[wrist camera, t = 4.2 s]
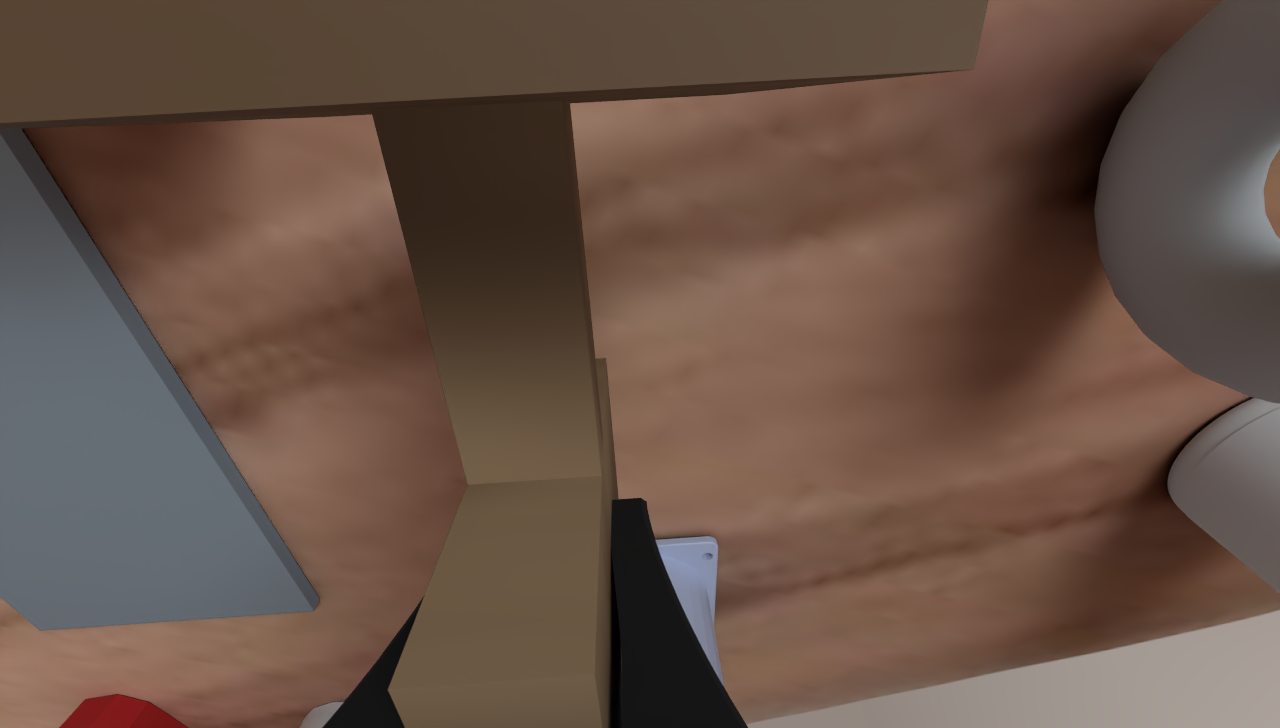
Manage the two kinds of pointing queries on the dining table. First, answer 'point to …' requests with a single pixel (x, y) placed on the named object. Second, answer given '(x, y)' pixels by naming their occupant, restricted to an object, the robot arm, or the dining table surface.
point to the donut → (1201, 200)
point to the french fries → (119, 714)
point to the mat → (109, 446)
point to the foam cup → (320, 715)
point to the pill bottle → (1236, 484)
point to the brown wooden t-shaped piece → (479, 248)
